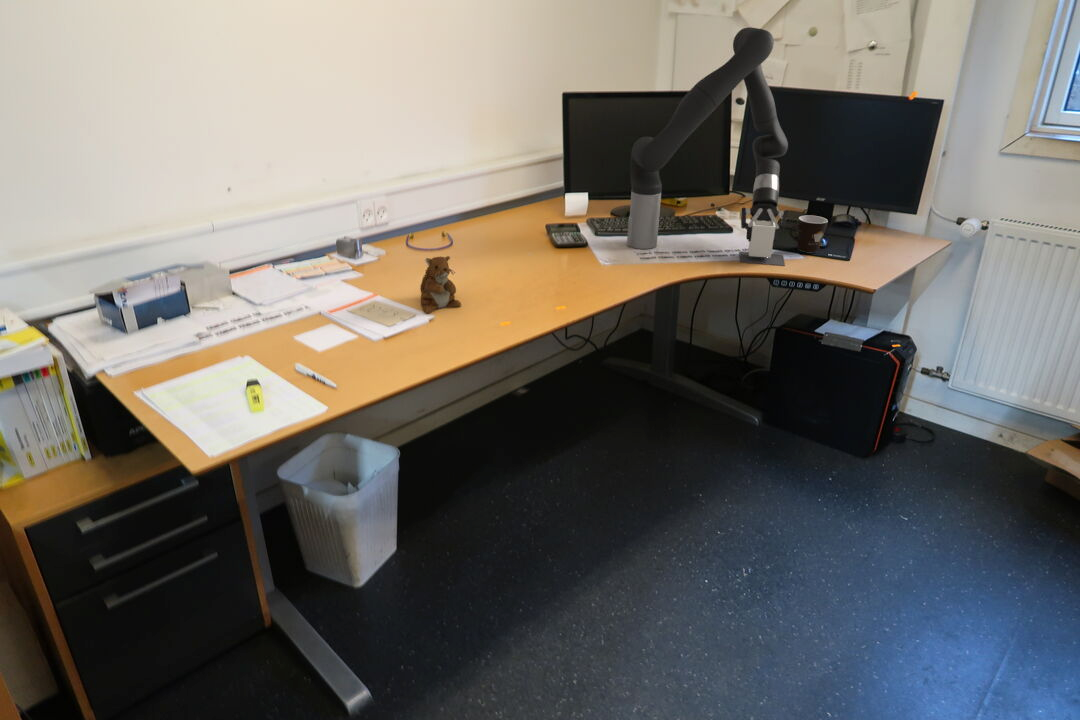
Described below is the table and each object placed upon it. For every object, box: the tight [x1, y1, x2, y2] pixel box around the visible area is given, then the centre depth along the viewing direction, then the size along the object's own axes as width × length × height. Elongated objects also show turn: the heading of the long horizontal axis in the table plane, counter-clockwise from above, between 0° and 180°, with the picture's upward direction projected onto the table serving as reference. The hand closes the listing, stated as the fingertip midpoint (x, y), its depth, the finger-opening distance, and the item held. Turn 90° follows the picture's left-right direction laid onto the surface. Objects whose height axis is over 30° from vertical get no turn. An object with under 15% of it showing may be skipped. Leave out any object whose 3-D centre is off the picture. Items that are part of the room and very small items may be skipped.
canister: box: [747, 220, 775, 258], centre depth 225 cm, size 6×6×10 cm
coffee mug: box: [789, 214, 829, 252], centre depth 233 cm, size 12×9×10 cm
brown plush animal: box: [419, 255, 462, 314], centre depth 191 cm, size 10×14×13 cm
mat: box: [739, 250, 786, 267], centre depth 227 cm, size 13×10×1 cm
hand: (761, 241), depth 224 cm, fingers closed on canister, 6 cm apart
